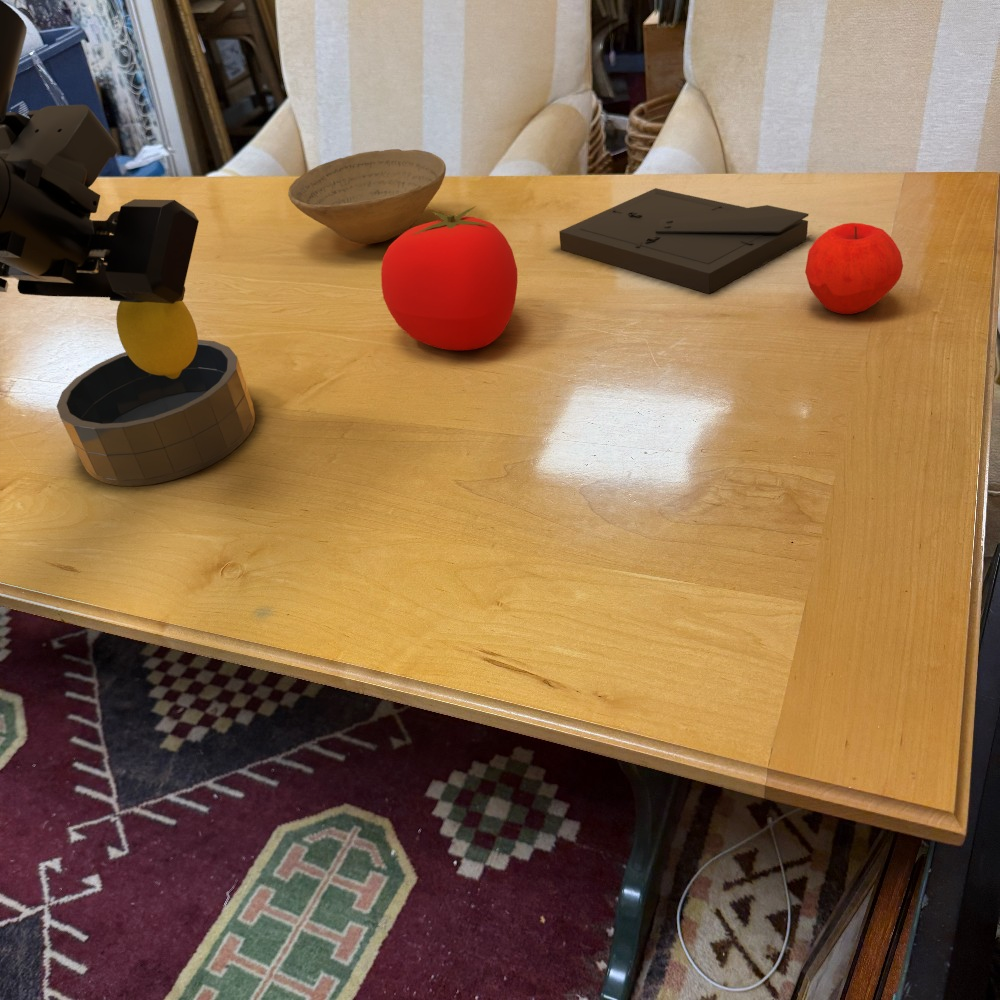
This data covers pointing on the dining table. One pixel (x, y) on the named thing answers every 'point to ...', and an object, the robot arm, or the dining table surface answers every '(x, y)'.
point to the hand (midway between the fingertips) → (157, 292)
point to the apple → (853, 267)
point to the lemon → (157, 336)
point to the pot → (157, 417)
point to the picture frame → (686, 238)
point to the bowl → (370, 192)
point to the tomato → (451, 282)
